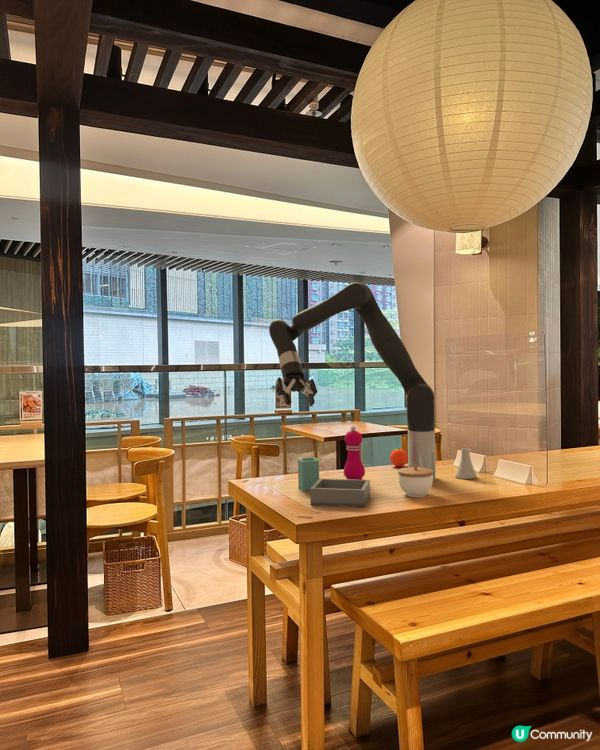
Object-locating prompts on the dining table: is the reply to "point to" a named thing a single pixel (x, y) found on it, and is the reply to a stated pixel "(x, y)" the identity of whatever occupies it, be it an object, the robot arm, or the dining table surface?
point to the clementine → (398, 457)
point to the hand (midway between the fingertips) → (300, 404)
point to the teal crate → (307, 473)
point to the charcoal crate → (340, 492)
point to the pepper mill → (354, 455)
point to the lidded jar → (415, 480)
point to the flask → (466, 466)
